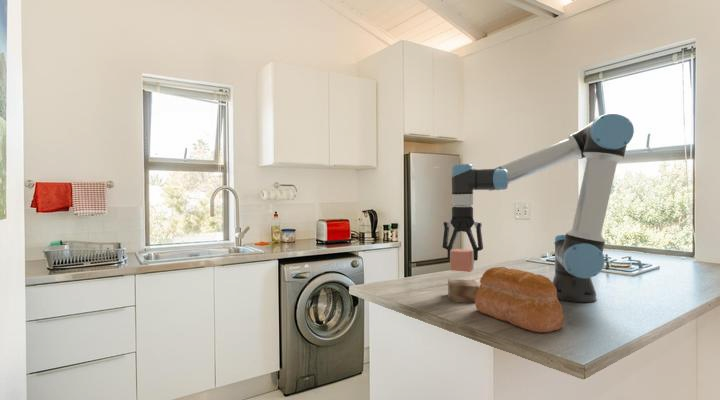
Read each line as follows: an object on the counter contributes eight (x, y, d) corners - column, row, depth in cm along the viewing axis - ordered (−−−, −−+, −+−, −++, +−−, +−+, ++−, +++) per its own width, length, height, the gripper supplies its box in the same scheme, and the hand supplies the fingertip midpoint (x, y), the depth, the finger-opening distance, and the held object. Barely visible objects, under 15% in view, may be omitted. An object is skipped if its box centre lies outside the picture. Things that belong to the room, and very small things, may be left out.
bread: (537, 336, 106) (537, 280, 105) (470, 311, 129) (470, 265, 129) (570, 328, 111) (570, 275, 111) (500, 305, 135) (500, 261, 135)
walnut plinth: (475, 295, 148) (475, 280, 148) (478, 303, 139) (478, 286, 139) (448, 294, 150) (448, 279, 150) (449, 302, 140) (449, 285, 140)
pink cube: (474, 268, 146) (474, 249, 146) (470, 271, 140) (470, 252, 139) (455, 267, 149) (455, 248, 149) (450, 270, 143) (450, 251, 143)
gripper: (492, 206, 143) (492, 268, 143) (438, 205, 152) (438, 264, 152) (488, 206, 136) (488, 272, 136) (433, 206, 145) (433, 267, 145)
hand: (462, 268), depth 144 cm, fingers closed on pink cube, 7 cm apart
